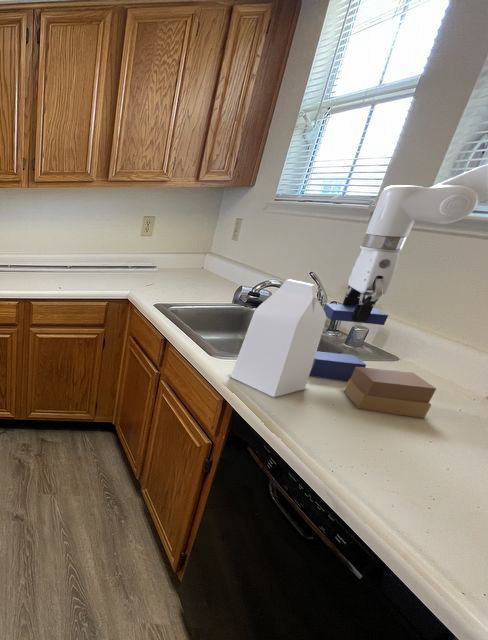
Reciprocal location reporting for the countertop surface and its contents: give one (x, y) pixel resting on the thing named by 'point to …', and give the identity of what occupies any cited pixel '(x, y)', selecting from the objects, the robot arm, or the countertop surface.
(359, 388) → the tan books
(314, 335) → the milk
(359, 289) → the robot arm
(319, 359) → the navy books
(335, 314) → the navy book
